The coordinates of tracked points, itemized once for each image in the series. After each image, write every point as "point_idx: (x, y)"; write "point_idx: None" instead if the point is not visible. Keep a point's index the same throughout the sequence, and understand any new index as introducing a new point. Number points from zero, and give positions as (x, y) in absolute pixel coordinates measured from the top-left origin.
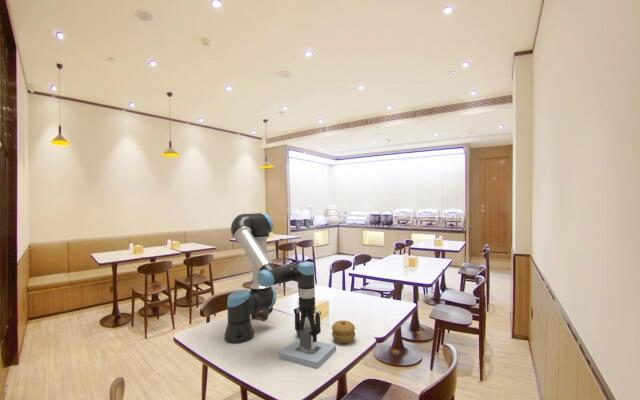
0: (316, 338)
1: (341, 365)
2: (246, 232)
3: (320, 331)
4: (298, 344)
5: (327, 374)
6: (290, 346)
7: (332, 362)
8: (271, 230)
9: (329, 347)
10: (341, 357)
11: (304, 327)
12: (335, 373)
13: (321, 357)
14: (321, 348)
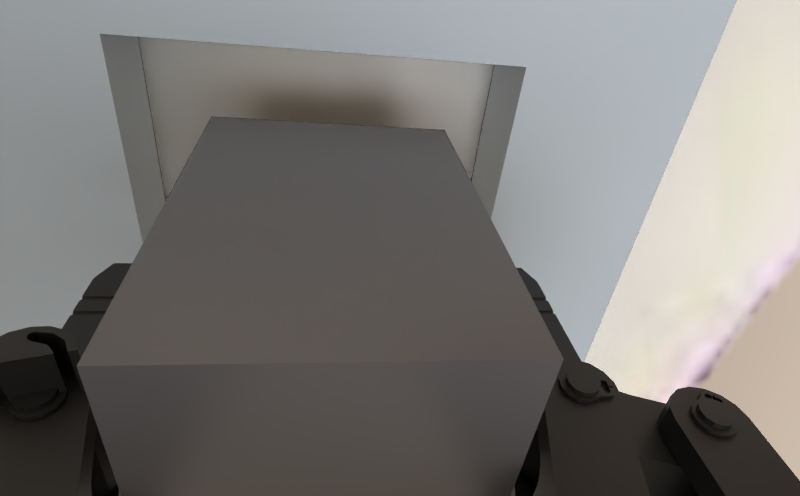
0: (547, 320)
1: (775, 230)
2: None
3: (748, 430)
4: (64, 128)
5: (645, 383)
6: (4, 244)
7: (678, 215)
8: None
9: (670, 14)
10: (795, 64)
11: (131, 482)
12: (711, 351)
13: (589, 316)
14: (535, 105)
